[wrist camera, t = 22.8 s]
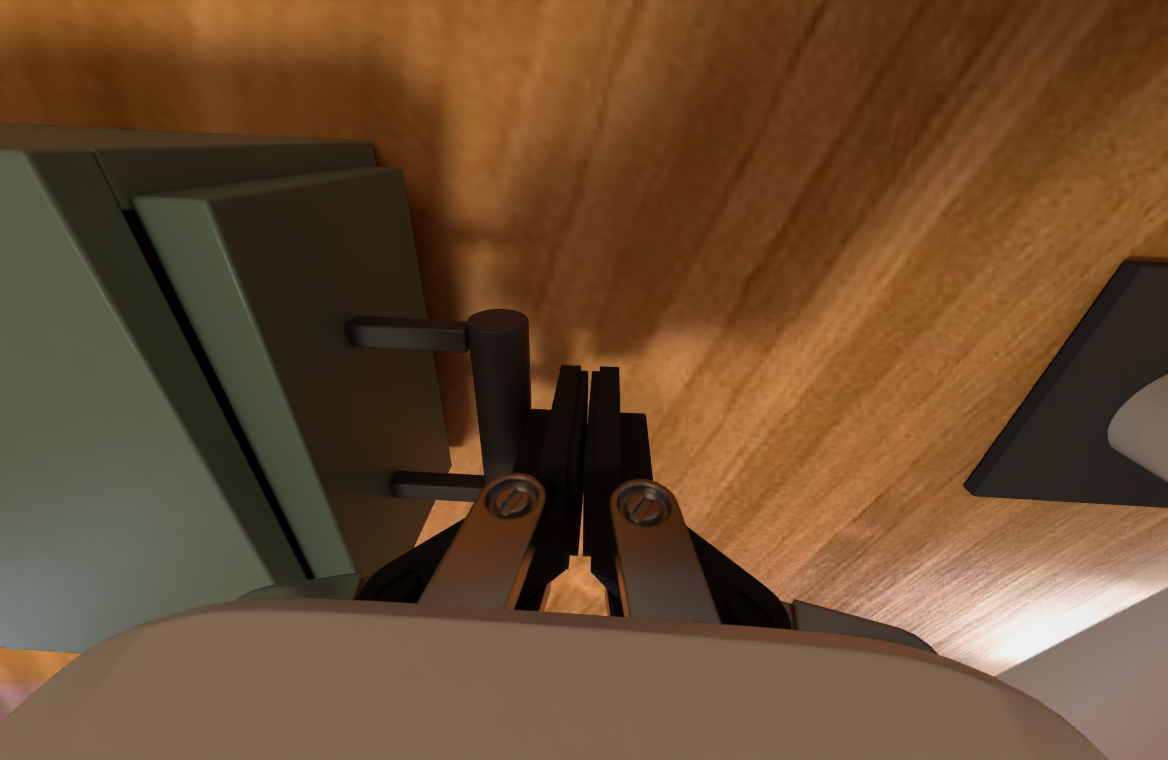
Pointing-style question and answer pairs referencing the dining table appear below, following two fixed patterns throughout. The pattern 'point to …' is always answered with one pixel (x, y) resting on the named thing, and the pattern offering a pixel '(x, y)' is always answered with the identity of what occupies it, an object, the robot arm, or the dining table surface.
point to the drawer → (331, 354)
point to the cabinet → (119, 392)
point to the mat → (1088, 404)
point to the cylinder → (1144, 428)
